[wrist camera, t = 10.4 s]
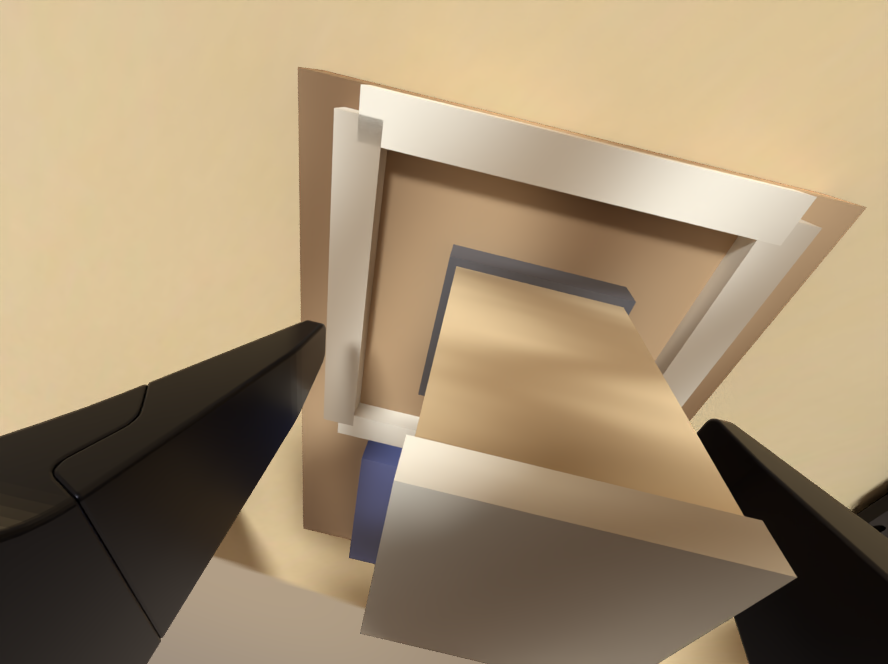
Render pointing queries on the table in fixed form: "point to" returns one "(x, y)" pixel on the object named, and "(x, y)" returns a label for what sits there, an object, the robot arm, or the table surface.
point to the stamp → (556, 487)
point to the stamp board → (517, 237)
